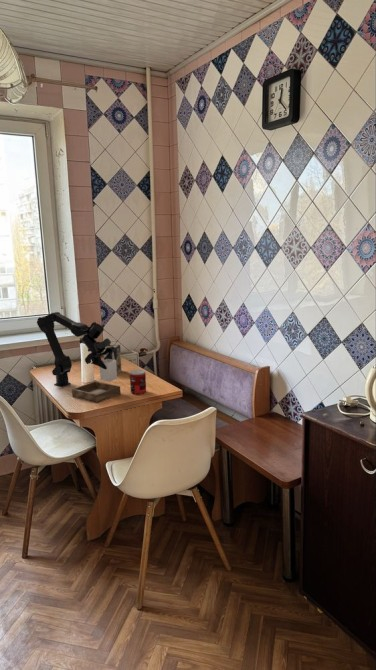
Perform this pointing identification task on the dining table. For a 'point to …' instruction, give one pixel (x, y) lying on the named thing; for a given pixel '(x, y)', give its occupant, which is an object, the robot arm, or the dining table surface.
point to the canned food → (138, 382)
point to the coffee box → (116, 357)
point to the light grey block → (108, 370)
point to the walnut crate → (96, 391)
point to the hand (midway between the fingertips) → (110, 367)
